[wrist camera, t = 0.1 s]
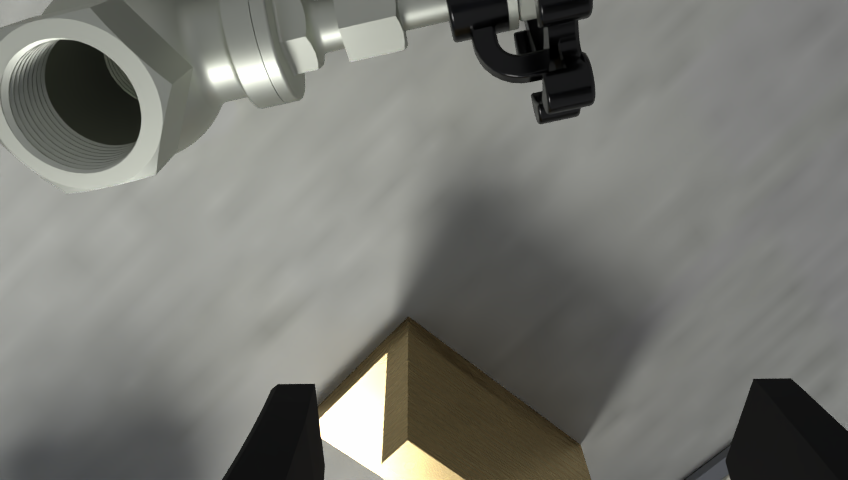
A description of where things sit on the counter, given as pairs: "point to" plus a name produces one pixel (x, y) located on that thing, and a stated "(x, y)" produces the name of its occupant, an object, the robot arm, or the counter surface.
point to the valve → (234, 69)
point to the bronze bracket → (441, 419)
